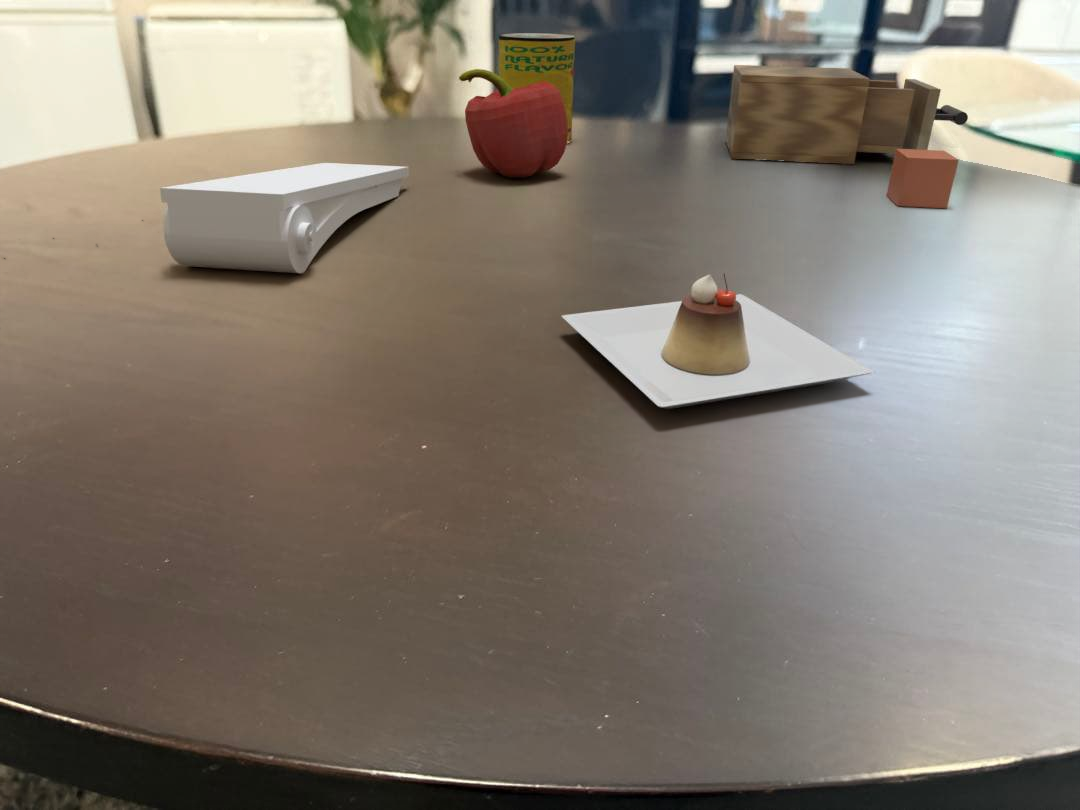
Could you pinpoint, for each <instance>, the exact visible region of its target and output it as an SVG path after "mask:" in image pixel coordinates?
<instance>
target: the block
mask: <svg viewBox="0 0 1080 810" xmlns="http://www.w3.org/2000/svg"><path fill="white" fill-rule="evenodd" d="M959 161H960V160H959V159H958V158H957V157H955V156H954V155H952V154H950V153H949V152H947V151H945V150H938V149H937V150H936V149H927V150H915V149H896V151H895V153H894V157H893V162H892V166H891V171H890V176H889V180H888V186H887V191H886V196H887V197H888V198H889V200H891V201H892V202H893V203H894V204H895V205H896V206H897V207H908V208H925V209H926V208H928V209H948V206H949V201H950V197H951V193H952V190H953V185H954V182H955V177H956V173H957V168H958V164H959Z"/></svg>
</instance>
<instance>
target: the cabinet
mask: <svg viewBox="0 0 1080 810" xmlns="http://www.w3.org/2000/svg"><path fill="white" fill-rule="evenodd" d="M870 80H871V79H870V78H869V77H867V76H865V75H863V74H861V73H859V72H857V71H854V70H853V69H851V68H847V67H846V68H843V67H839V68H838V67H816V66H815V67H814V66H812V67H811V66H785V65H784V66H782V65H753V64H752V65H750V64H734V65H733V72H732V80H731V89H730V97H729V107H728V115H727V123H726V124H727V125H726V131H725V132H726V133H725V141H726V142H725V141H724V142H725V144H726V143H727V145H726V147H727V146H728V147H727V150H728V149H729V150H728V153H729V152H730V153H729V155H730V156H729V157H730V159H731V158H732V159H731V160H736V159H766V160H784V161H795V162H794V163H805V162H818V163H817V164H827V163H838V164H837V165H850V164H854V165H855V163H856V162H855V161H856V156H857V152H856V151H857V146H858V140H859V135H860V130H861V124H862V119H863V113H864V108H865V103H866V97H867V92H868V86H869V81H870ZM839 163H841V164H839Z"/></svg>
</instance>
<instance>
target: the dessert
mask: <svg viewBox="0 0 1080 810" xmlns="http://www.w3.org/2000/svg"><path fill="white" fill-rule="evenodd" d="M723 279H724V283H725V287H726V290H725V289H720V290H718V286H717V283H716V282H715V281H714V280H715V279H713V277H712V274H707V275H705V276H703V277H701V278H699V279H697V280H696V281H695V282H693V284H692V286H691V289H690V294H691V295H687V296H685V297H684V298H683V299H682V300H680V301H679V300H677V301H672V302H671V301H670V302H662V303H655V304H646V305H638V306H637V305H636V306H629V307H620V308H612V309H604V310H595V311H587V312H579V313H569V314H562V315H561V318H562V319H563V320H564V321H565V322H566V323H567V324H568V325H569V326H571V327H572V328H573V329H574V330H575V331H576V332H577V333H578V334H579V335H580V336H581V337H582V338H584V339H585V340H586V341H587V342H588V343H589V344H590V345H591V346H592V347H593V348H594V349H595V350H596V351H598V353H600V355H602V356H603V357H604V358H605V359H606V360H607V361H608V362H609V363H610V364H612V366H614V367H615V368H616V370H618V371H619V372H620V373H621V374H622V375H623V376H624V377H625V378H627V380H629V381H630V382H631V383H632V384H633V385H634V386H635V387H636V388H638V389H639V390H640V391H641V393H643V394H644V395H645V396H646V397H647V398H648V399H649V400H650V401H651V402H653V404H655V406H657V407H658V408H661V409H662V408H663V409H670V410H675V409H681V408H688V407H693V406H699V405H704V404H711V403H717V402H723V401H724V402H725V401H730V400H735V399H741V398H747V397H748V398H749V397H754V396H760V395H766V394H772V393H777V392H778V393H779V392H783V391H790V390H796V389H801V388H802V389H803V388H809V387H813V386H814V387H815V386H819V385H821V386H822V385H826V384H830V383H834V382H835V383H836V382H840V381H845V380H849V379H853V378H858V377H863V376H867V375H871V374H873V373H874V370H872V369H871V368H869V367H867V366H866V365H864V364H862V363H860V362H859V361H857V360H855V359H854V358H852V357H850V356H848V355H847V354H845V353H843V352H842V351H840V350H838V349H836V347H835V348H834V347H833V346H831V345H830V344H828V343H826V342H825V341H823V340H822V339H819V338H818V337H816V336H815V335H813V334H811V333H809V332H807V331H806V330H804V329H802V328H801V327H799V326H798V325H795V324H794V323H792V322H790V321H789V320H787V319H785V318H784V317H781V316H780V315H779V314H777V313H775V312H773V311H772V310H770V309H768V308H767V307H765V306H763V305H761V304H759V302H756V301H755V300H753V299H751V298H750V297H748V296H747V295H744V294H743V293H738V294H736V293H735V292H734V291H732V290H729V289H728V284H727V283H728V282H727V279H726V273H723Z"/></svg>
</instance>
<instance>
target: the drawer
mask: <svg viewBox="0 0 1080 810" xmlns="http://www.w3.org/2000/svg"><path fill="white" fill-rule="evenodd" d="M896 86H897V80H881V79H880V80H877V79H870V81H869V86H868V92H867V97H866V103H865V108H864V113H863V119H862V124H861V130H860V135H859V140H858V146H857V151H856V153H875V154H876V153H878V154H895V151H896V149H915V150H929V145H930V140H931V135H932V132H933V127H934V122H935V121H944V122H945V121H949V122H951V123H953V124H956V125H957V126H963V125H965V124H966V122H967V121H968V119H969V115H968V114H967V112H965V111H963V110H960V109H958V108H956V107H954V106H951V105H949V104H944V105H942V106H941V107H940V108H939V107H938V104H939V99H940V96H941V91H942V90H941V88H938V87H936V86H933V85H931V84H928V83H926V82H923V81H921V80H919V79H917V78H905V79H904V85H903V88H898V87H896Z"/></svg>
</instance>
